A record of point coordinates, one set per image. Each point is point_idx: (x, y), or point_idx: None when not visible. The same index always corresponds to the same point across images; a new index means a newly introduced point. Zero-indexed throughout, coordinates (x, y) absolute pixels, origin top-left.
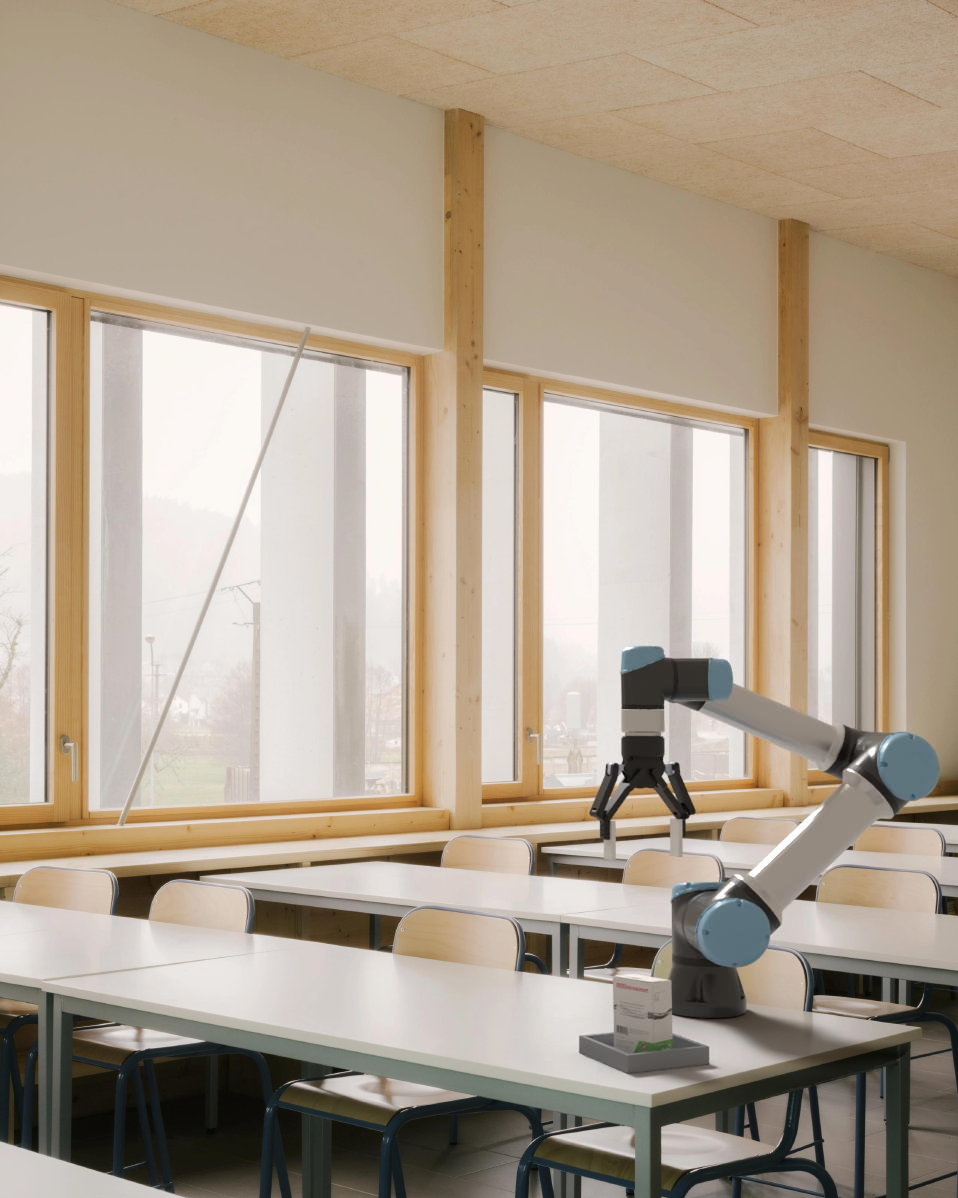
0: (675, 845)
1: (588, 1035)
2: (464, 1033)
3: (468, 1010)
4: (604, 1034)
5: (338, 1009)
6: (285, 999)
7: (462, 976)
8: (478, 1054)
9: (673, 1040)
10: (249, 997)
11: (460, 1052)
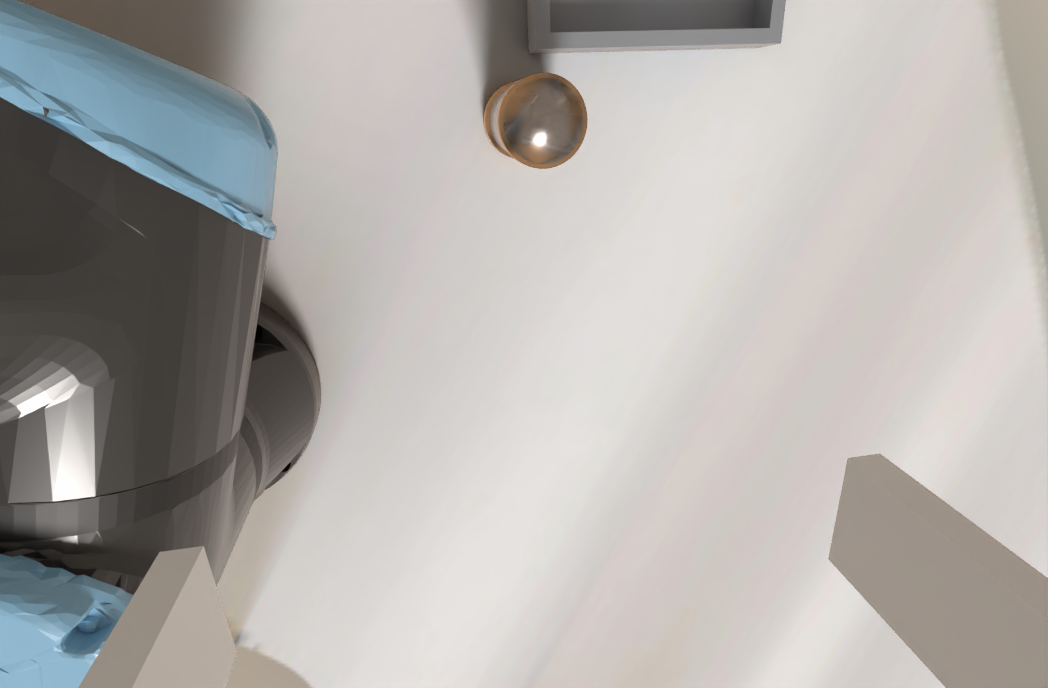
0: (178, 682)
1: (759, 34)
2: (855, 331)
3: (730, 522)
4: (715, 29)
5: None
6: None
7: None
8: (947, 131)
9: None
10: None
11: (965, 165)
